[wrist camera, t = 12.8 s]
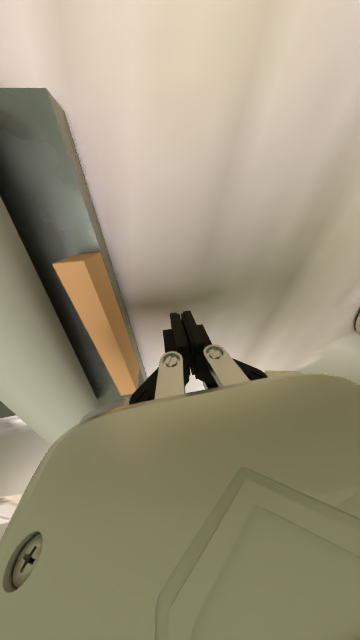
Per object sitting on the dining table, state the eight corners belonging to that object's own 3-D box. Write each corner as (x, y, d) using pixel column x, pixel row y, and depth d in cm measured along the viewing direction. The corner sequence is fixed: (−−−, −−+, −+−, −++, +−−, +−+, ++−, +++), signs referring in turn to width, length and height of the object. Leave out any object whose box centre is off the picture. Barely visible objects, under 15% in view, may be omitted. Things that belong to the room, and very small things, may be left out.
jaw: (100, 252, 10) (83, 260, 7) (139, 368, 16) (137, 392, 14) (76, 254, 10) (51, 263, 7) (126, 370, 16) (121, 395, 14)
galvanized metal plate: (63, 110, 8) (-23, 0, 4) (150, 388, 21) (149, 422, 18) (-225, 113, 6) (-741, -40, 3) (63, 404, 20) (42, 444, 16)
